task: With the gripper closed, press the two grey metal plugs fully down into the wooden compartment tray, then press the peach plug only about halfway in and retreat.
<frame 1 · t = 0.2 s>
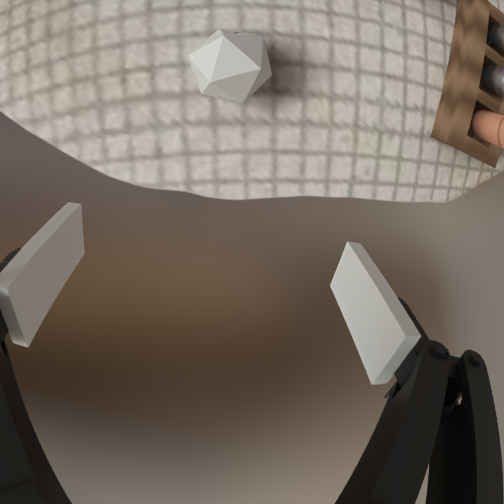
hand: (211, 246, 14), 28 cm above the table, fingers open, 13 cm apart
peach plug: (496, 129, 30), point 8 cm above the table, slide at 0.0 cm
die: (230, 66, 33), on the table
wooden compartment tray: (473, 76, 33), on the table
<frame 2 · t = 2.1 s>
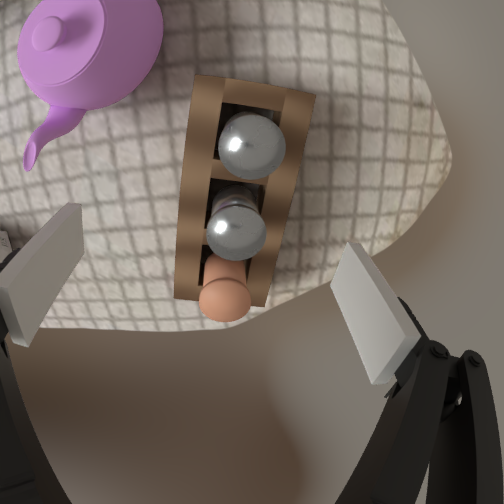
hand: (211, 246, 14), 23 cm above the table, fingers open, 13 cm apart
peach plug: (224, 283, 35), point 8 cm above the table, slide at 0.0 cm
teapot: (103, 52, 27), on the table
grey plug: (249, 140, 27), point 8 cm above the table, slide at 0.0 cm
die: (3, 243, 38), on the table
grey plug mid: (235, 219, 31), point 8 cm above the table, slide at 0.0 cm
wooden compartment tray: (233, 191, 37), on the table
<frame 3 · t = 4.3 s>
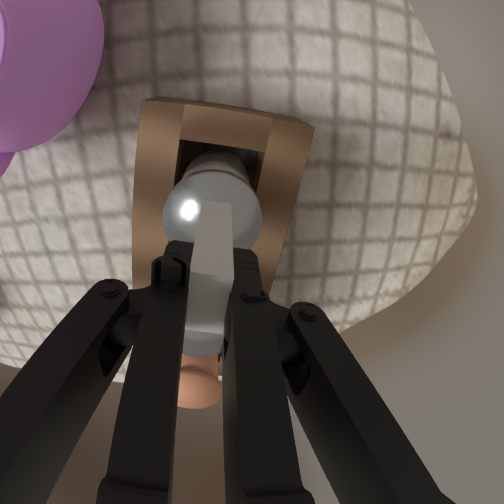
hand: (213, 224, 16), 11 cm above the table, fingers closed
peach plug: (192, 363, 27), point 8 cm above the table, slide at 0.0 cm
teapot: (43, 70, 19), on the table
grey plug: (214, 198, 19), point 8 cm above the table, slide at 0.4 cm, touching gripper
grey plug mid: (199, 299, 23), point 8 cm above the table, slide at 0.0 cm
wooden compartment tray: (204, 246, 30), on the table
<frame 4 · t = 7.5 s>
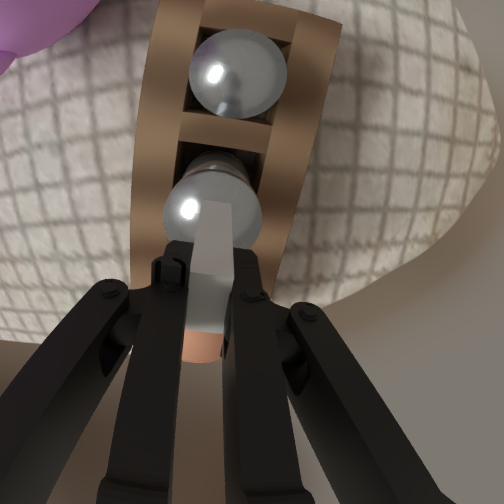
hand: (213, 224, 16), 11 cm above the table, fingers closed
peach plug: (199, 304, 23), point 8 cm above the table, slide at 0.0 cm
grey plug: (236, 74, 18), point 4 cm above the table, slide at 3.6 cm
grey plug mid: (214, 198, 19), point 7 cm above the table, slide at 1.0 cm, touching gripper
wooden compartment tray: (217, 168, 25), on the table
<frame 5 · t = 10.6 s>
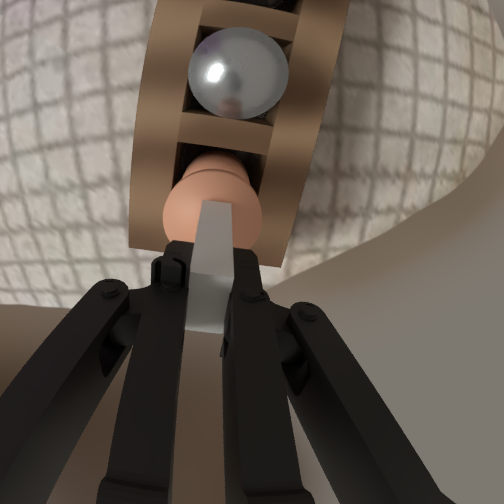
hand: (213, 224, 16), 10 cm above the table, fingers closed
peach plug: (214, 198, 19), point 7 cm above the table, slide at 1.4 cm, touching gripper
grey plug mid: (236, 74, 17), point 4 cm above the table, slide at 3.6 cm
wooden compartment tray: (235, 76, 21), on the table
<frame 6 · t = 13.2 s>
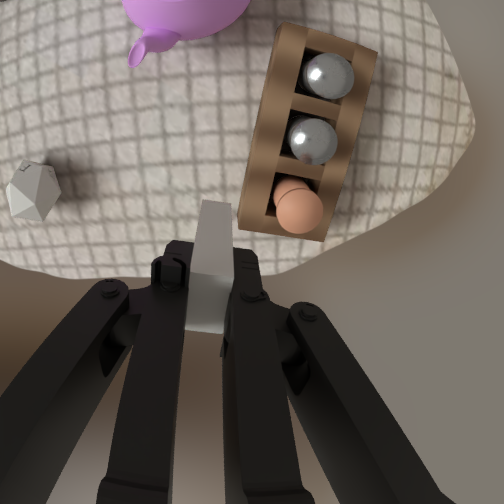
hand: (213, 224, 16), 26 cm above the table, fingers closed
peach plug: (294, 201, 38), point 6 cm above the table, slide at 1.8 cm
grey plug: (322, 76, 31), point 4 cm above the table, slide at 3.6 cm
die: (45, 181, 39), on the table
grey plug mid: (307, 137, 35), point 4 cm above the table, slide at 3.6 cm
wooden compartment tray: (299, 131, 39), on the table
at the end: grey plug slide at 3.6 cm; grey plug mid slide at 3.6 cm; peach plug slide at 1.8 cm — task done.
